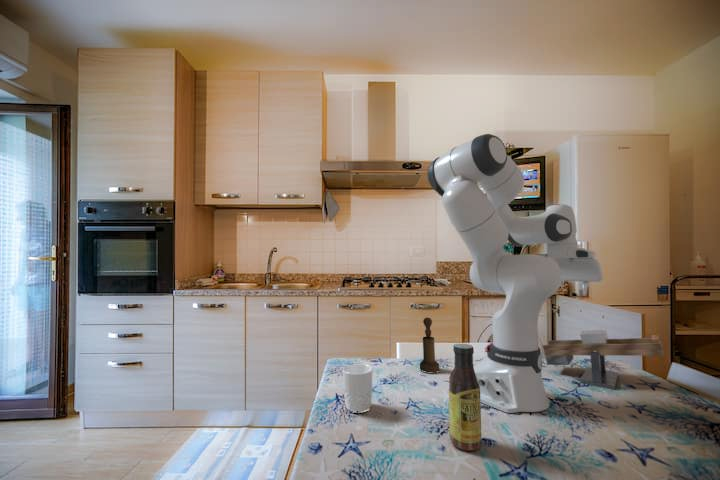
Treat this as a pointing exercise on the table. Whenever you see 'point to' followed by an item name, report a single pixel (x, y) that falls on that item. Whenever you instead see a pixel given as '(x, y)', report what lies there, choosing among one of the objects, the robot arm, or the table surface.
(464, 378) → the sauce bottle
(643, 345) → the balance beam
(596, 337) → the steel rider
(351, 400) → the white cup
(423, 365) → the mortar and pestle
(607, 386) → the beam stand
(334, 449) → the table surface
